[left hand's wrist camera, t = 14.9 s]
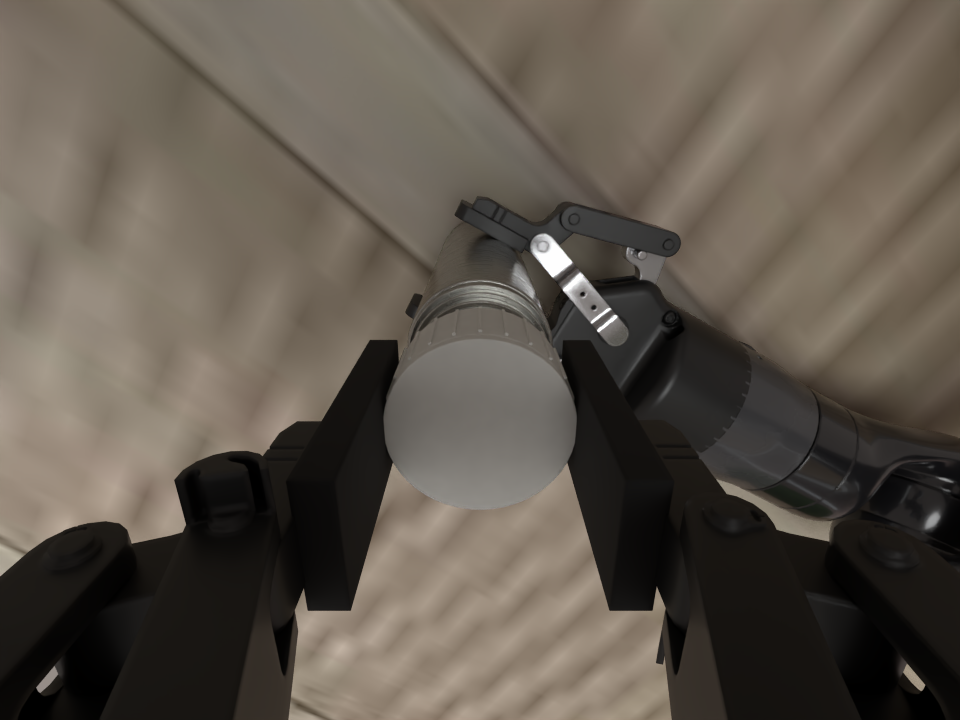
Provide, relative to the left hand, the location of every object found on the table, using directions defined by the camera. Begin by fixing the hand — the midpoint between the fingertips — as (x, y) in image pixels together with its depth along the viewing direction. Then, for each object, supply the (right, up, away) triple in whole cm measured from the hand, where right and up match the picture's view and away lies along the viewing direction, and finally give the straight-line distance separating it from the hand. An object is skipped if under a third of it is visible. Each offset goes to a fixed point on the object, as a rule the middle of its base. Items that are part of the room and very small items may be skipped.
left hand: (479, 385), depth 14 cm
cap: (0, -1, -2) cm, 2 cm away
